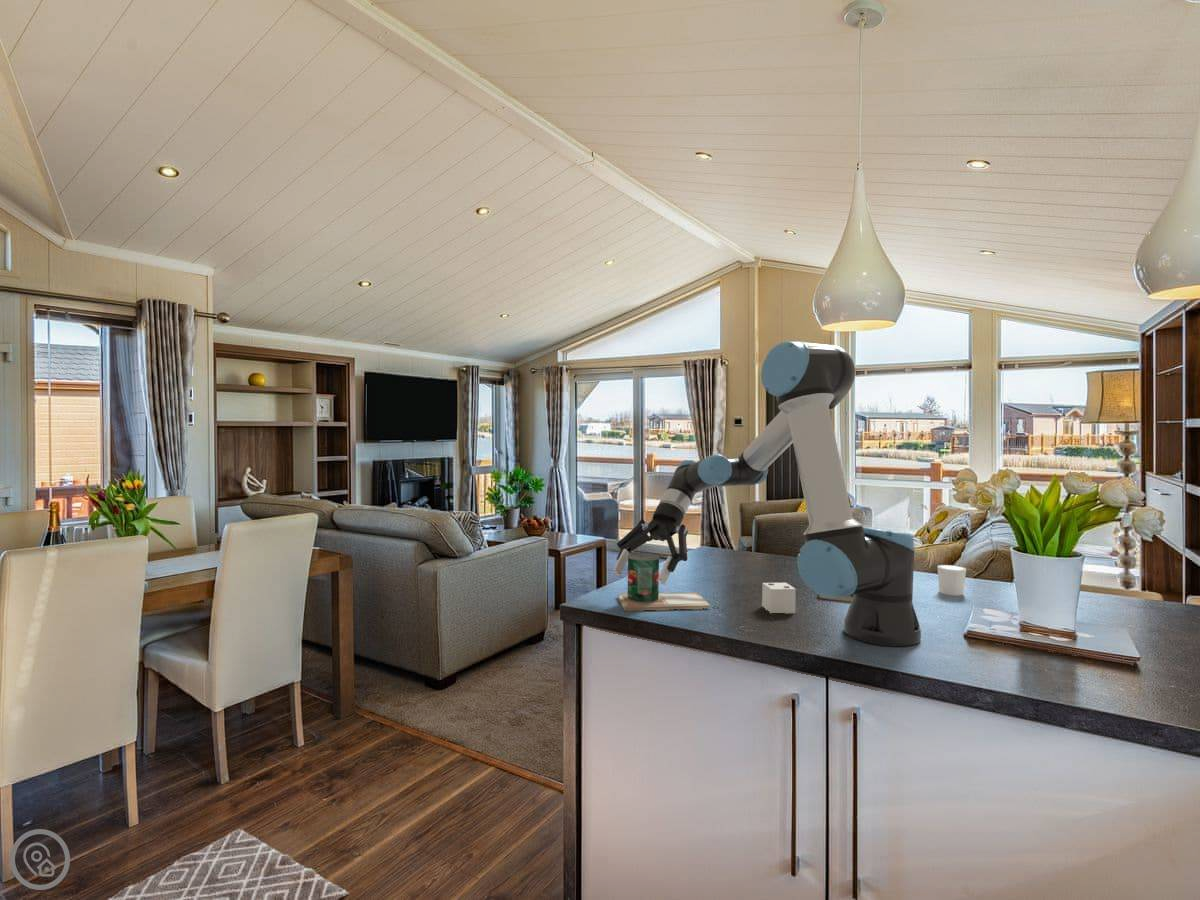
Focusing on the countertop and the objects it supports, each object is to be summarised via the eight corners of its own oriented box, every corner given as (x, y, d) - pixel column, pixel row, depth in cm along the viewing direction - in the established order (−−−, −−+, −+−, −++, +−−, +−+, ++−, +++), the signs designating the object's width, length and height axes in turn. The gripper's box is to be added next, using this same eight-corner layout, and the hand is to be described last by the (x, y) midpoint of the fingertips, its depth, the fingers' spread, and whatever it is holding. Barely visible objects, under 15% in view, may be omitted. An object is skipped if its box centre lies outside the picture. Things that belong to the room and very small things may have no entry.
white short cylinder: (969, 596, 169) (970, 570, 169) (942, 595, 170) (942, 569, 170) (959, 590, 176) (960, 564, 175) (932, 588, 177) (933, 563, 177)
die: (795, 613, 153) (795, 588, 153) (771, 614, 153) (771, 588, 152) (785, 606, 159) (785, 582, 159) (762, 606, 159) (762, 582, 158)
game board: (710, 609, 156) (710, 604, 156) (625, 611, 154) (625, 607, 154) (697, 595, 168) (697, 591, 168) (618, 597, 166) (618, 593, 166)
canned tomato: (665, 601, 159) (665, 557, 159) (638, 605, 155) (639, 560, 155) (646, 593, 166) (647, 551, 165) (621, 597, 162) (621, 554, 161)
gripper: (718, 524, 164) (687, 594, 153) (638, 514, 179) (605, 577, 168) (708, 505, 159) (675, 576, 148) (627, 497, 175) (592, 560, 164)
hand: (638, 577), depth 158 cm, fingers open, 13 cm apart
